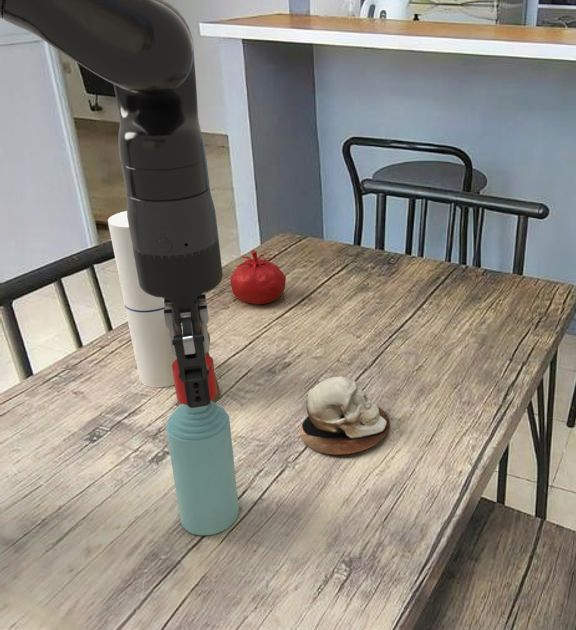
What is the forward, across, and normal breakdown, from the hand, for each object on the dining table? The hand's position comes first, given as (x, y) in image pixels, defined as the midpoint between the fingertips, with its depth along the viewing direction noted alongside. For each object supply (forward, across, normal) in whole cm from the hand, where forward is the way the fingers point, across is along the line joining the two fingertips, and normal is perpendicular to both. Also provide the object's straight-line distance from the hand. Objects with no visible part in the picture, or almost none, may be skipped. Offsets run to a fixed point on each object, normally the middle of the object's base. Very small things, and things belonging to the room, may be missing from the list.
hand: (198, 391), depth 70 cm
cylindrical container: (+17, +32, +6) cm, 37 cm away
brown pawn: (+17, +25, +1) cm, 30 cm away
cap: (0, 0, 0) cm, 0 cm away
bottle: (+17, 0, +1) cm, 17 cm away
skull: (+17, +11, -18) cm, 27 cm away
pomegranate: (+17, +54, -12) cm, 58 cm away
